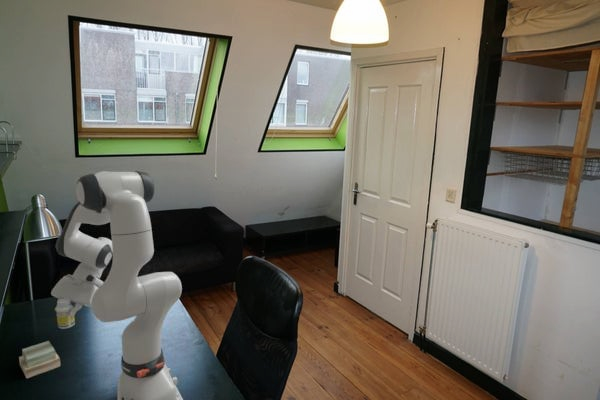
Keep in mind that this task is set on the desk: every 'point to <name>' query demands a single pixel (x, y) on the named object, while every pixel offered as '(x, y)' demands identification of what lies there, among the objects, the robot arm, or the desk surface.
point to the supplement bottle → (64, 314)
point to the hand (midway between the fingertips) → (63, 313)
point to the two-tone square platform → (38, 359)
